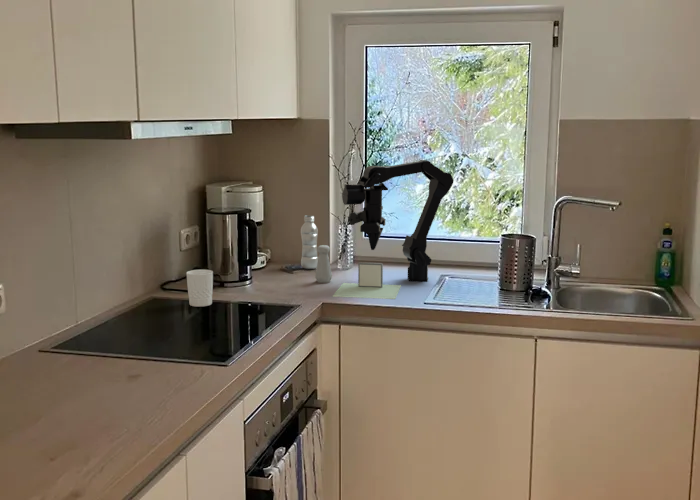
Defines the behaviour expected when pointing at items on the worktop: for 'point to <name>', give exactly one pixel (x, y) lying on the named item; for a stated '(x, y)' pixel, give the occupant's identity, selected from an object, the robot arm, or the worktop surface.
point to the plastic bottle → (309, 243)
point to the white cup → (200, 287)
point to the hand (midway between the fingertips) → (373, 249)
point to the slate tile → (370, 274)
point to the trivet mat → (367, 291)
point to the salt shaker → (323, 265)
